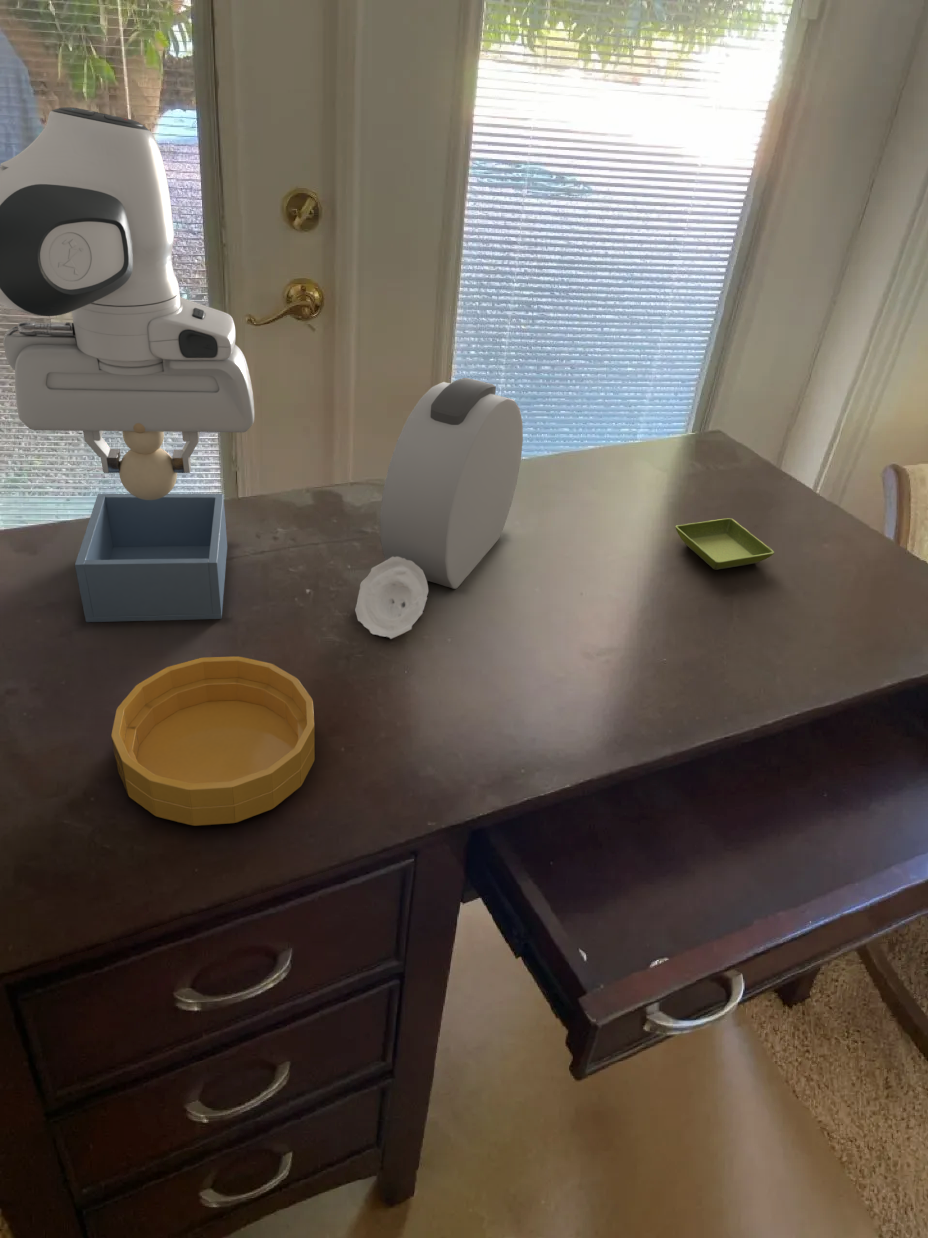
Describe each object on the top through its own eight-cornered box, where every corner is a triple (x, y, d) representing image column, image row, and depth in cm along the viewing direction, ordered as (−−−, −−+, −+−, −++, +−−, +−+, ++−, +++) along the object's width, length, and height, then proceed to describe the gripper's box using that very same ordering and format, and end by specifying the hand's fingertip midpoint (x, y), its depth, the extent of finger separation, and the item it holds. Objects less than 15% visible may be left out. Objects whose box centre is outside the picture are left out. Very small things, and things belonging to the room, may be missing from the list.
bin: (85, 622, 85) (74, 564, 81) (106, 547, 96) (97, 493, 92) (221, 619, 87) (216, 562, 84) (227, 546, 98) (223, 493, 94)
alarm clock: (457, 505, 111) (472, 349, 99) (513, 521, 109) (535, 364, 97) (376, 587, 94) (383, 411, 83) (439, 608, 92) (456, 431, 81)
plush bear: (119, 510, 83) (105, 423, 78) (126, 484, 87) (114, 400, 82) (177, 509, 84) (167, 424, 79) (181, 484, 88) (172, 401, 83)
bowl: (107, 837, 65) (98, 795, 62) (133, 700, 77) (126, 659, 74) (317, 823, 68) (317, 782, 65) (310, 692, 80) (310, 653, 77)
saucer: (727, 531, 112) (731, 516, 111) (771, 567, 105) (776, 552, 104) (669, 540, 108) (673, 525, 107) (712, 578, 102) (716, 562, 101)
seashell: (405, 650, 92) (456, 617, 87) (367, 652, 88) (418, 617, 83) (382, 582, 94) (431, 546, 90) (344, 580, 90) (393, 542, 86)
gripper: (-12, 333, 72) (23, 486, 80) (248, 340, 75) (256, 486, 84) (7, 308, 77) (38, 454, 85) (250, 316, 80) (257, 456, 89)
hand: (148, 470), depth 84 cm, fingers closed on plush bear, 5 cm apart
